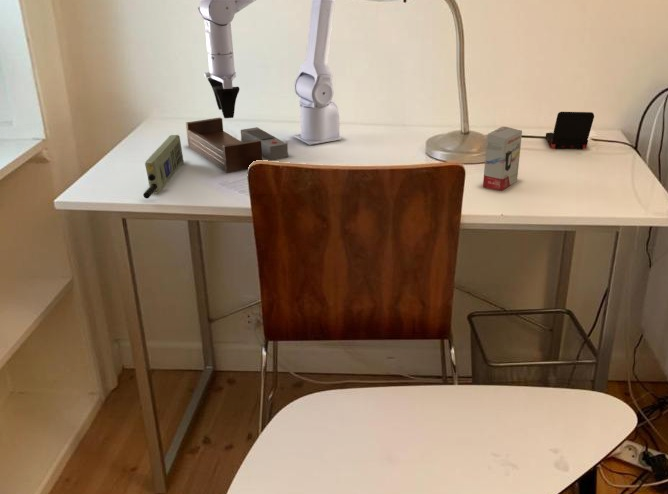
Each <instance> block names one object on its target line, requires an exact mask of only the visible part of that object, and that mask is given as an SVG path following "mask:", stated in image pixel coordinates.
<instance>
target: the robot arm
mask: <svg viewBox="0 0 668 494" xmlns="http://www.w3.org/2000/svg"><path fill="white" fill-rule="evenodd" d="M256 1H257V0H200V2H199V6H198V7H197V10H198V14H199V15H200V17H201V19H203V22H204V33H205V44H206V52H207V63H208V72H204V73H203V75H204V77H205V78H207V81H208V82H209V84H210V86H211V88H212V91H213V94H214V97H215V102H216V105H217V108H218V110H219V111H221V113H222V116H223V119H233V118H234V116H235V108H236V101H237V97H238V94H239V93H240V87H239V86H234V85H233V81H234V80H235V78H236V77H237V72H236V69H235V68H236V67H235V57H234V47H233V46H234V45H233V34H232V27H231V26H232V22H233V20H234V18H235V15H236V14H238V13H239V12H240V11H242V10H243V9H245V8H246V7H248V6H249V5H251V4H253V3H254V2H256ZM335 7H336V0H311V6H310V14H309V15H310V16H309V23H308V24H309V25H308V32H307V33H308V34H307V42H306V51H305V59H304V62H303V63H302V64H301V65H300V66H299V68H298V74H297V76H296V78H295V80H294V83H293V89H294V93H295V94H296V95H297V97H298V99H299V100H298V101H299V113H300V116H299V117H300V118H299V119H300V134H295V135H294V138H295V139H297V140H299V141H301V142H303V143H305V144H307V145H309V146H312V145H313V146H314V145H318V144H323V143H329V142H334V141H340V140H342V137H341V133H340V132H341V131H340V130H341V129H340V125H341V124H340V111H339V107H338V105H337V104H336V103H335V101H332V100H333V98H334V94H335V90H334V89H335V88H334V86H333V74H332V72H331V70H330V68H329V66H328V64H329V55H330V47H331V40H332V31H333V24H334V23H333V22H334V15H335Z"/></svg>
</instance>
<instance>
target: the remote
mask: <svg viewBox="0 0 668 494" xmlns="http://www.w3.org/2000/svg"><path fill="white" fill-rule="evenodd" d="M240 138H241V139H240V141H241V142H248V141H254V140H260V141H261V146H262V156H264V157H265V158H267V159H268V160H271V161H272V160H277V159H278V160H279V159H285V158H288V157H289V149H288V148H289V147H288V143H287V142H285V141H284V140H281V139H279V138H278V137H276V136H274V135H272V134H270V133H269V132H266V131H265V130H263V129H262V128H259V127H258V126H257V127H256V126H255V127H250V128H243V129H240Z"/></svg>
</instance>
